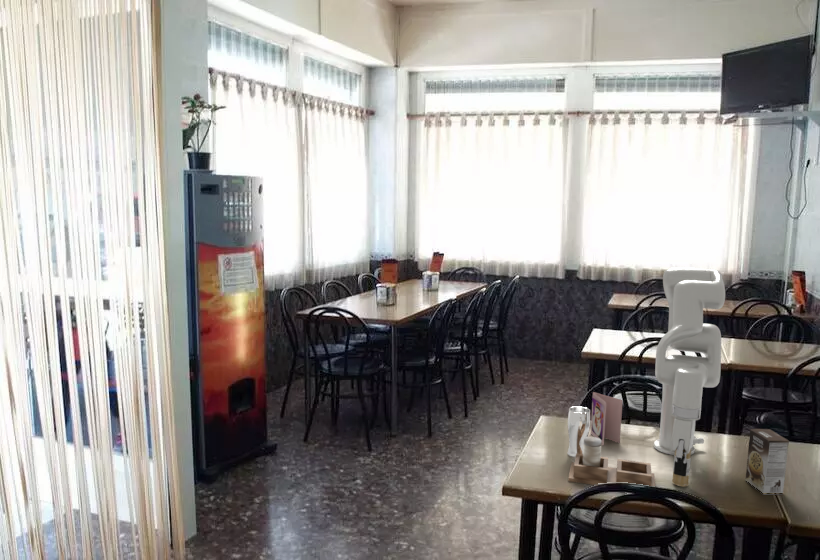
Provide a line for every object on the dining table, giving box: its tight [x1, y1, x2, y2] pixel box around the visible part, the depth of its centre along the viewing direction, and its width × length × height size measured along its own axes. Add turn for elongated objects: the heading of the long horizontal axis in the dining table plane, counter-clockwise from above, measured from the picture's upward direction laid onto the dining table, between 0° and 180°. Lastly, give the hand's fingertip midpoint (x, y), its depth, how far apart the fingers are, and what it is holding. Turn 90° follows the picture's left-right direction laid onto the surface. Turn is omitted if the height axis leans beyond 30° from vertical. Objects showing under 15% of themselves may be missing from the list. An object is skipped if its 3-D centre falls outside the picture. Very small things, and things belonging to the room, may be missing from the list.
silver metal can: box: [567, 405, 591, 459], centre depth 214 cm, size 7×7×15 cm
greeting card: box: [590, 391, 624, 447], centre depth 227 cm, size 11×7×15 cm, turn 6°
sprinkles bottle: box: [671, 446, 692, 487], centre depth 193 cm, size 5×5×14 cm
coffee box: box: [745, 428, 790, 494], centre depth 193 cm, size 9×6×16 cm
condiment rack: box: [567, 436, 656, 486], centre depth 197 cm, size 24×12×11 cm, turn 72°
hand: (681, 470), depth 193 cm, fingers closed on sprinkles bottle, 4 cm apart
